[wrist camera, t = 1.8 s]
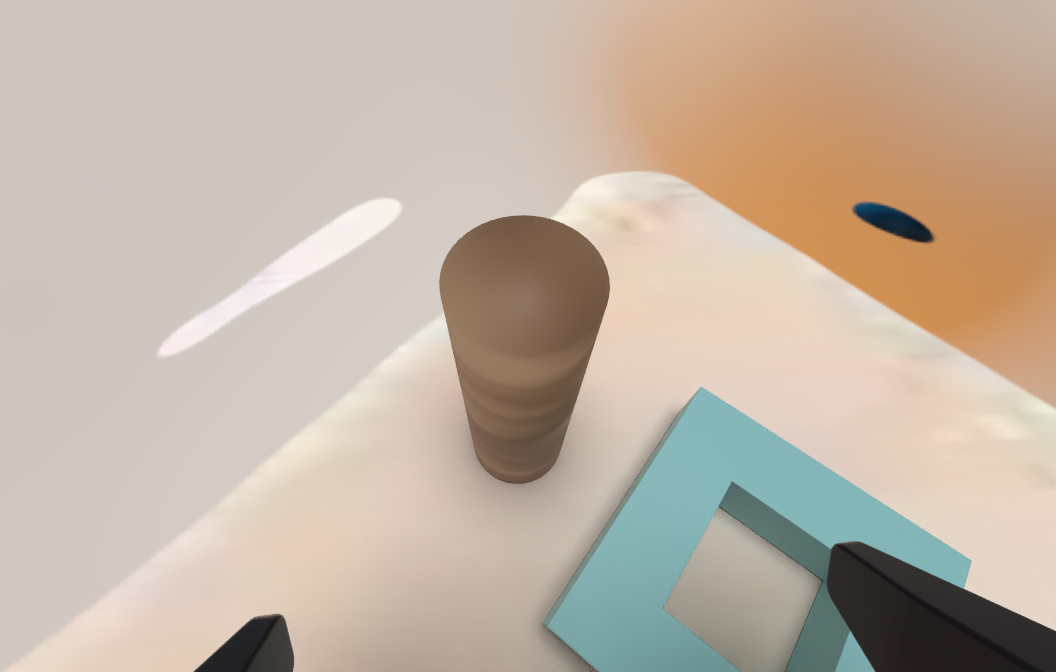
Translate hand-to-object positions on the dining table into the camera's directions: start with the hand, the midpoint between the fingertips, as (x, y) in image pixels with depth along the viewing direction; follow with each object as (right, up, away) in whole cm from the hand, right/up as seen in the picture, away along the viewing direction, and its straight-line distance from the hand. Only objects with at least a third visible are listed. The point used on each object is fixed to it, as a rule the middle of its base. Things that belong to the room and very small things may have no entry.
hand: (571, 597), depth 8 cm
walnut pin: (-1, 0, +14) cm, 15 cm away
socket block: (+8, -6, +12) cm, 15 cm away
